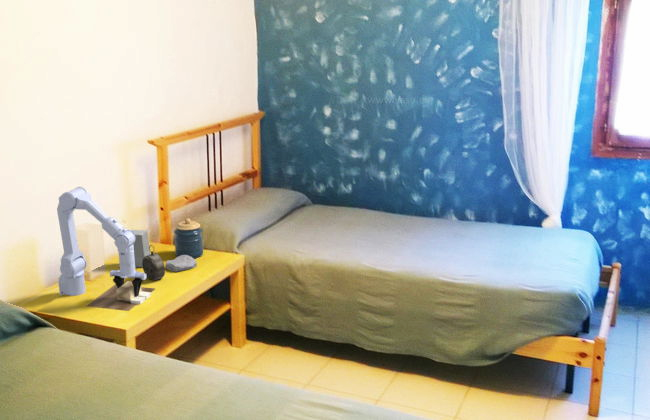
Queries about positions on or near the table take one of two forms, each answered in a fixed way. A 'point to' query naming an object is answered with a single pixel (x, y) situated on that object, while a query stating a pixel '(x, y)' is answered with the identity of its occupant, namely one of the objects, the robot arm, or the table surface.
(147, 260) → the alarm clock
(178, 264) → the stone block
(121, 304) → the walnut board
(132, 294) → the block
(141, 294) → the paint flake
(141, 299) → the paint flake
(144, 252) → the skincare box
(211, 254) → the table surface
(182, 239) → the canister
